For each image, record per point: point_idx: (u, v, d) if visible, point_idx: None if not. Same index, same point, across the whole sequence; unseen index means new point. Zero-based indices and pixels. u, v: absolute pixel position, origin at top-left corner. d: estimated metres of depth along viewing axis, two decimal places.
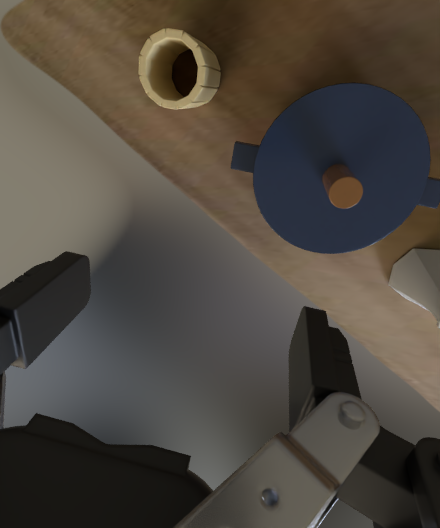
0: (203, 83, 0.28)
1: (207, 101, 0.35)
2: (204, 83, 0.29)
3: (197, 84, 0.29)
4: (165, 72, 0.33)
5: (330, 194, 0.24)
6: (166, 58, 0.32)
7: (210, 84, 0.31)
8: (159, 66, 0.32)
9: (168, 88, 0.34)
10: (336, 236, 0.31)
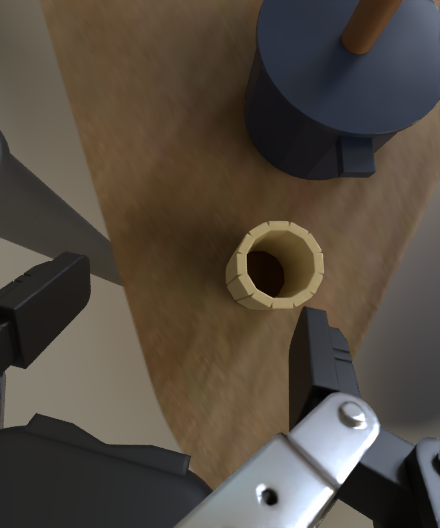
0: (286, 221, 0.23)
1: None
2: None
3: (289, 228, 0.23)
4: None
5: None
6: None
7: None
8: None
9: (284, 293, 0.27)
10: (422, 23, 0.24)
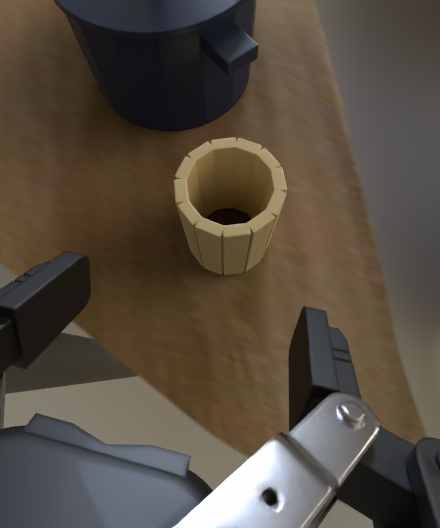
0: (206, 143, 0.18)
1: None
2: None
3: (213, 147, 0.18)
4: None
5: None
6: None
7: None
8: None
9: None
10: None
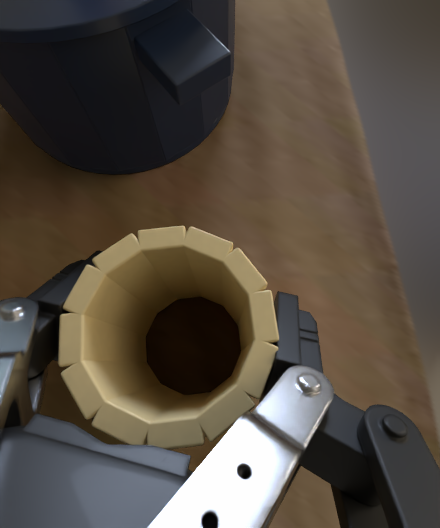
0: (129, 236, 0.10)
1: None
2: None
3: (141, 246, 0.10)
4: (224, 383, 0.14)
5: None
6: (195, 399, 0.13)
7: None
8: (214, 393, 0.12)
9: (242, 351, 0.13)
10: None
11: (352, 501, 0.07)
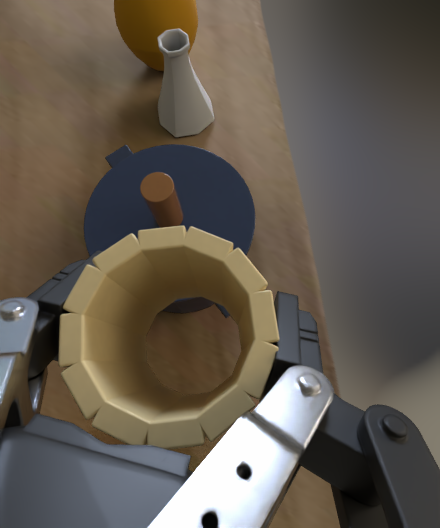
0: (129, 236, 0.10)
1: None
2: None
3: (142, 246, 0.10)
4: (224, 383, 0.14)
5: (168, 194, 0.23)
6: (195, 399, 0.13)
7: None
8: (214, 393, 0.12)
9: (242, 351, 0.13)
10: (206, 171, 0.29)
11: (352, 501, 0.07)
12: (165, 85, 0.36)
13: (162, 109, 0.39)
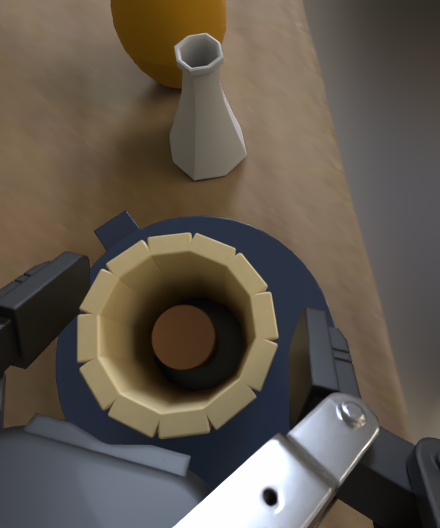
0: (139, 243, 0.11)
1: None
2: None
3: (151, 251, 0.11)
4: (228, 379, 0.14)
5: (206, 354, 0.12)
6: (201, 394, 0.14)
7: None
8: (219, 388, 0.12)
9: (245, 349, 0.14)
10: (254, 262, 0.18)
11: None
12: (183, 113, 0.26)
13: (177, 143, 0.28)
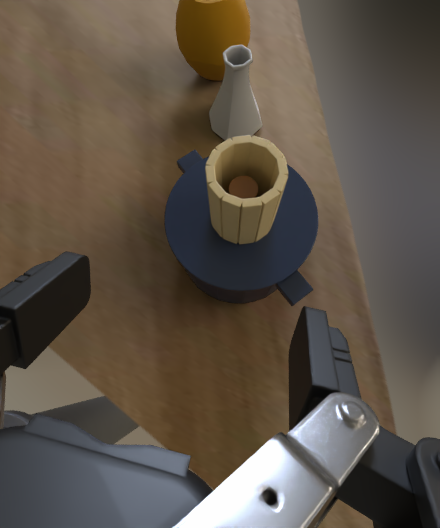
0: (228, 139, 0.25)
1: None
2: None
3: (234, 142, 0.25)
4: None
5: (254, 195, 0.26)
6: None
7: None
8: None
9: None
10: None
11: None
12: (223, 95, 0.40)
13: (216, 116, 0.43)
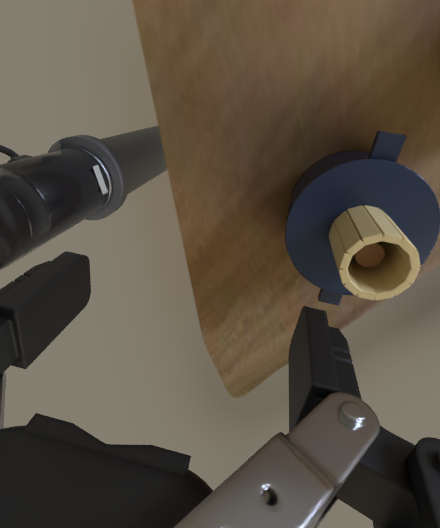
0: (400, 237, 0.25)
1: None
2: (399, 235, 0.25)
3: (399, 243, 0.25)
4: (358, 264, 0.32)
5: (369, 266, 0.29)
6: None
7: (391, 224, 0.27)
8: (358, 272, 0.31)
9: None
10: (418, 230, 0.32)
11: None
12: None
13: None
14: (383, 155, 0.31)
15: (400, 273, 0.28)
